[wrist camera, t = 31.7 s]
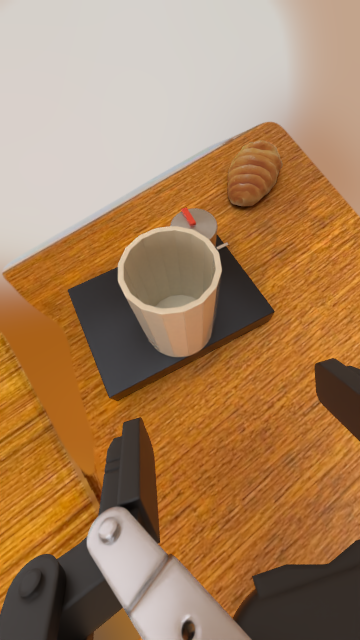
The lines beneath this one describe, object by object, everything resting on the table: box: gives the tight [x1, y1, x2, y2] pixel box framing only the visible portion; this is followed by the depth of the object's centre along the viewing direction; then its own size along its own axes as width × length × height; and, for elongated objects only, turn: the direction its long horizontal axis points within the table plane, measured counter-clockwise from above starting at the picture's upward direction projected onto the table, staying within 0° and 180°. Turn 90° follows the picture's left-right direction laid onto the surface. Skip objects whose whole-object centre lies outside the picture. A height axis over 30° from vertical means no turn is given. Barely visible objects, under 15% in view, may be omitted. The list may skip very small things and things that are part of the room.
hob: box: [68, 235, 275, 401], centre depth 29 cm, size 18×14×3 cm
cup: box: [118, 226, 222, 357], centre depth 22 cm, size 7×7×10 cm
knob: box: [170, 207, 217, 247], centre depth 27 cm, size 4×4×6 cm
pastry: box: [228, 141, 282, 206], centre depth 35 cm, size 9×7×4 cm
